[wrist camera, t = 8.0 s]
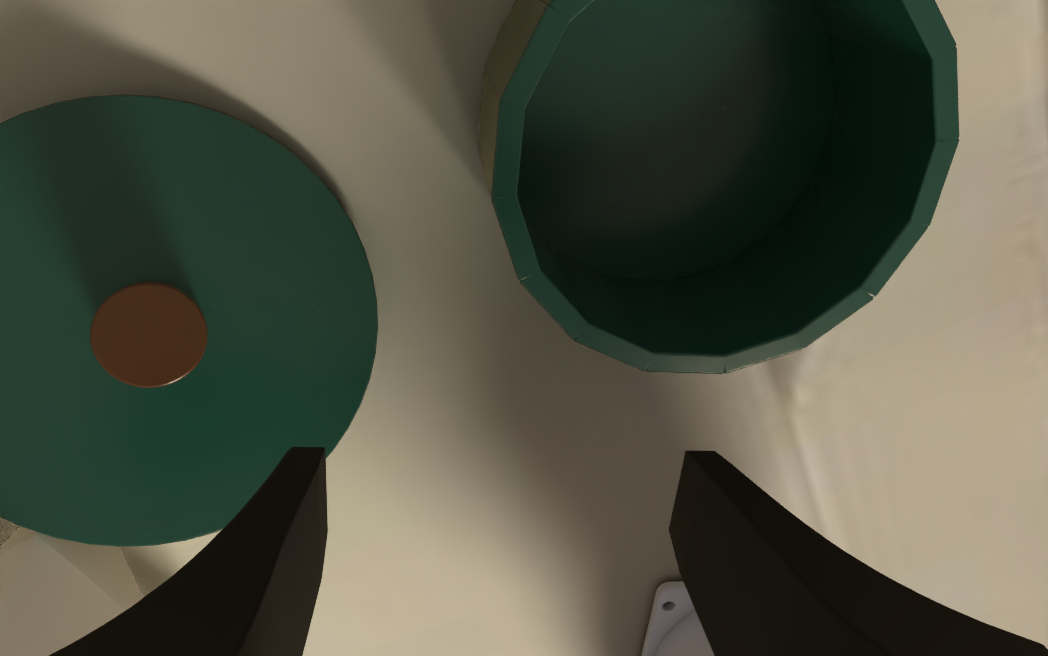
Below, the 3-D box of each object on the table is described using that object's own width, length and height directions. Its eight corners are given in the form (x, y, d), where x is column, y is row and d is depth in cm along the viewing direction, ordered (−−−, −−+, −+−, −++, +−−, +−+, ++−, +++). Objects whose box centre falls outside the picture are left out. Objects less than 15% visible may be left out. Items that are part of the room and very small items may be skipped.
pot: (792, 297, 26) (877, 380, 21) (467, 282, 24) (477, 367, 19) (892, -67, 21) (1033, -70, 16) (495, -115, 19) (518, -136, 15)
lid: (365, 514, 24) (402, 564, 20) (-110, 557, 19) (-189, 635, 15) (374, 129, 23) (416, 100, 19) (-117, 72, 19) (-202, 17, 14)
